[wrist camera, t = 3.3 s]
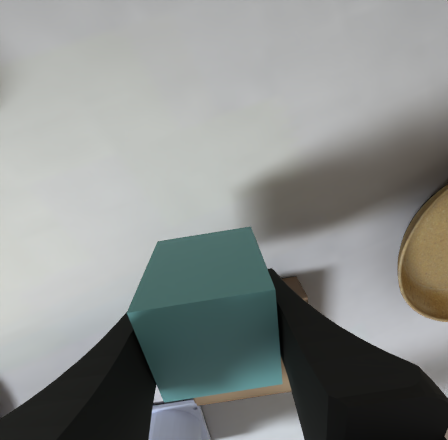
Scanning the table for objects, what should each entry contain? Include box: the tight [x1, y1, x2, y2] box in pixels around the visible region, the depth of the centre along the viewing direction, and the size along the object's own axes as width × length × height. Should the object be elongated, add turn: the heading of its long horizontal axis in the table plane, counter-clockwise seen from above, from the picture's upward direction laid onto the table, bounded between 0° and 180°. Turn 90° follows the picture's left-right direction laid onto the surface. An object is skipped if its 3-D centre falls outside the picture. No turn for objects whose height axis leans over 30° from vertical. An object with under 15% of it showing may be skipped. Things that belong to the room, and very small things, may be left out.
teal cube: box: [127, 227, 283, 403], centre depth 11 cm, size 5×5×5 cm
